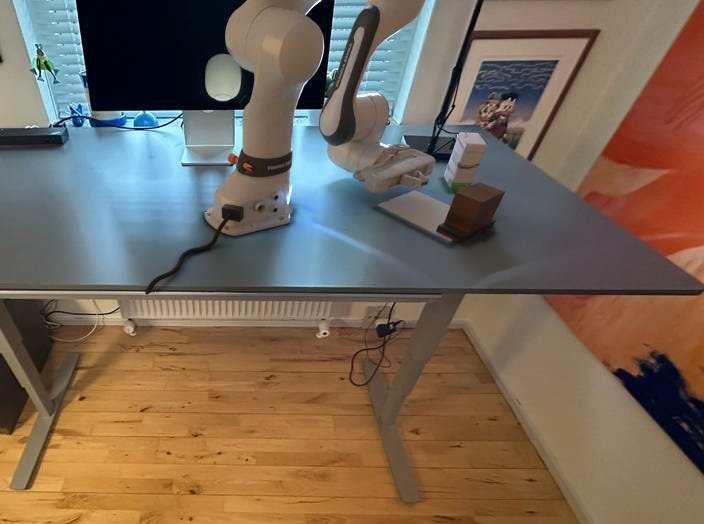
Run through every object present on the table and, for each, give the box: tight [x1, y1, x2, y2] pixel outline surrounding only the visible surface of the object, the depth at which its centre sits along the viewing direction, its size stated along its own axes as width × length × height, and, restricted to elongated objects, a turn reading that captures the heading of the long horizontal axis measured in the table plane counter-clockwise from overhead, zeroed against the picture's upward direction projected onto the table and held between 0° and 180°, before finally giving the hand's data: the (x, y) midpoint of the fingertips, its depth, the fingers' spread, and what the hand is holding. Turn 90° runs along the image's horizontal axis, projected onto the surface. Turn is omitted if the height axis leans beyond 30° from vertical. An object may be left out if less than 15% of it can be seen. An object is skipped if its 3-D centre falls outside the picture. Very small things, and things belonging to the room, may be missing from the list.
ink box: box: [443, 131, 488, 190], centre depth 104 cm, size 9×5×12 cm, turn 171°
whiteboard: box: [376, 189, 454, 243], centre depth 98 cm, size 14×21×1 cm, turn 33°
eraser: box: [436, 181, 506, 244], centre depth 89 cm, size 12×6×8 cm, turn 123°
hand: (424, 183), depth 95 cm, fingers closed
